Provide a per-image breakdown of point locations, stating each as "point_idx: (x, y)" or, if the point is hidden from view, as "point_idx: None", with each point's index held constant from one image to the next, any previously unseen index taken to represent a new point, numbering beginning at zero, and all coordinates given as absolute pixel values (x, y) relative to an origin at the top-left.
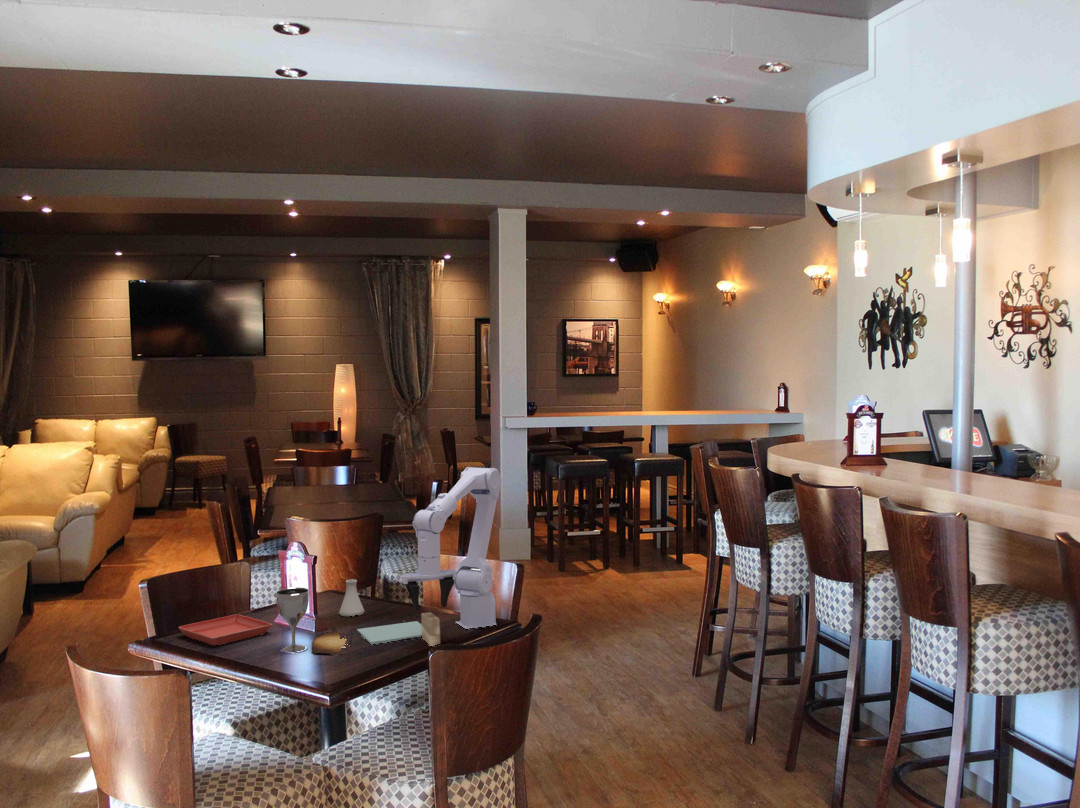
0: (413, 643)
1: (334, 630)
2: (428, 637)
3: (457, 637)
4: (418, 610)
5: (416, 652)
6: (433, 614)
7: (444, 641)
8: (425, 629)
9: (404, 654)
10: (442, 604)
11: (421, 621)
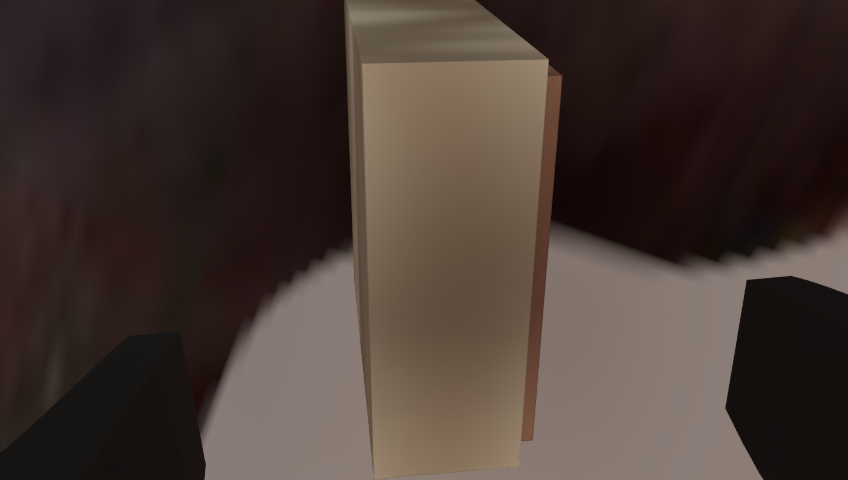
0: (210, 95)
1: None
2: (356, 270)
3: (732, 95)
4: (202, 469)
5: None
6: (536, 228)
7: None
8: (356, 195)
9: None
10: (754, 368)
11: (354, 32)
